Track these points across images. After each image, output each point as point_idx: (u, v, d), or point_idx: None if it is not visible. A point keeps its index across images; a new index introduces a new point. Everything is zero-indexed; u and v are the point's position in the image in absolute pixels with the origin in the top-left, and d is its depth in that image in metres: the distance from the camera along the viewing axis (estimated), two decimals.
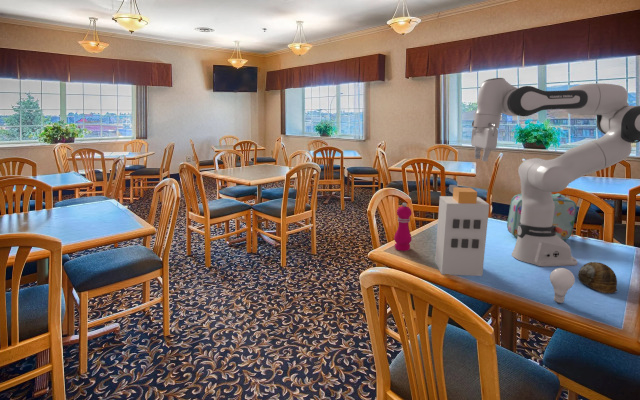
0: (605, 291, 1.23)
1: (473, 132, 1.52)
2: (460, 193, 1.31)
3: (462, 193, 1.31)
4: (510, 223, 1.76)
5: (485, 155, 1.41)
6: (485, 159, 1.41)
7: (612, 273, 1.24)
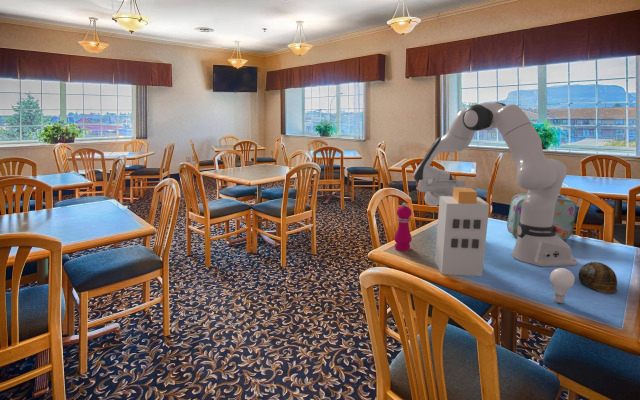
0: (605, 291, 1.23)
1: None
2: (460, 193, 1.31)
3: (462, 193, 1.31)
4: (510, 223, 1.76)
5: (430, 182, 1.69)
6: (431, 180, 1.67)
7: (612, 273, 1.24)
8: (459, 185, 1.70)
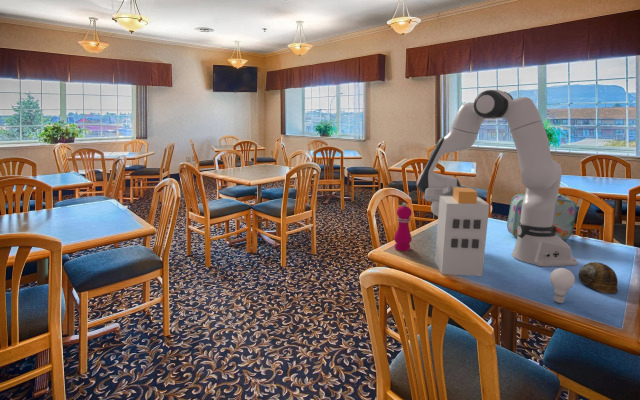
0: (606, 291, 1.23)
1: None
2: (460, 193, 1.31)
3: (462, 193, 1.31)
4: (510, 223, 1.76)
5: (445, 190, 1.51)
6: (447, 188, 1.50)
7: (613, 273, 1.23)
8: None
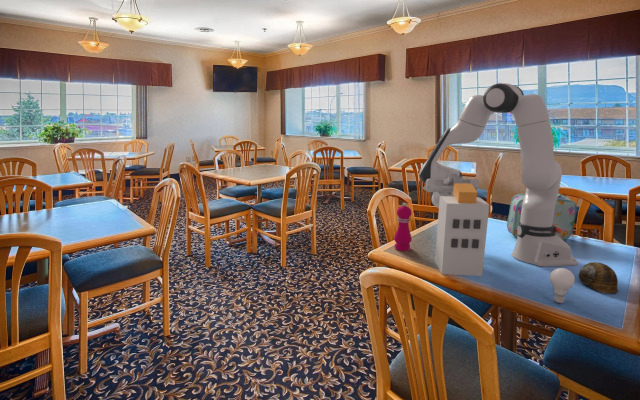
0: (606, 291, 1.23)
1: None
2: (460, 193, 1.31)
3: (462, 193, 1.31)
4: (510, 223, 1.76)
5: (446, 181, 1.50)
6: (448, 179, 1.49)
7: (613, 273, 1.23)
8: None
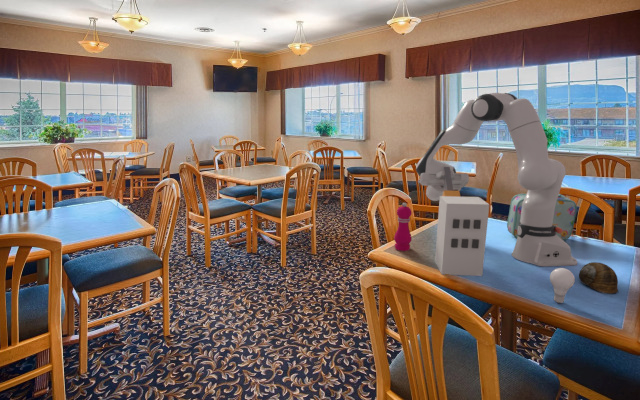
0: (606, 291, 1.23)
1: (460, 185, 1.69)
2: None
3: None
4: (510, 223, 1.76)
5: (439, 175, 1.63)
6: (440, 173, 1.62)
7: (613, 273, 1.23)
8: (462, 178, 1.65)
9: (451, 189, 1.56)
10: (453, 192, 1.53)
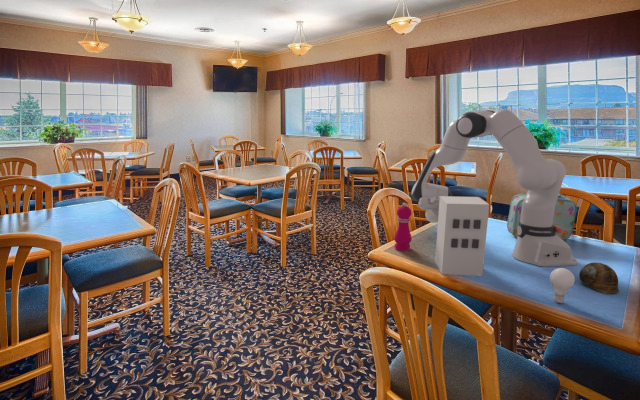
0: (606, 292, 1.23)
1: None
2: None
3: None
4: (510, 223, 1.76)
5: (432, 200, 1.65)
6: (434, 198, 1.64)
7: (613, 274, 1.23)
8: None
9: None
10: None
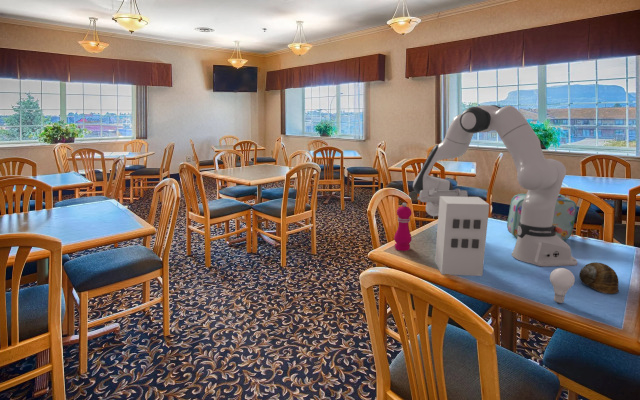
0: (606, 292, 1.23)
1: None
2: None
3: None
4: (510, 223, 1.76)
5: (431, 192, 1.66)
6: (433, 190, 1.64)
7: (614, 274, 1.23)
8: (461, 195, 1.67)
9: None
10: None
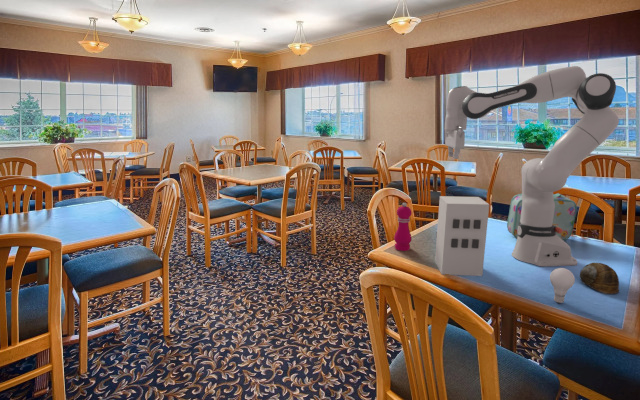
0: (607, 292, 1.22)
1: (445, 133, 1.75)
2: None
3: None
4: (510, 223, 1.76)
5: (456, 154, 1.63)
6: (456, 157, 1.63)
7: (614, 274, 1.23)
8: (448, 145, 1.75)
9: None
10: None
